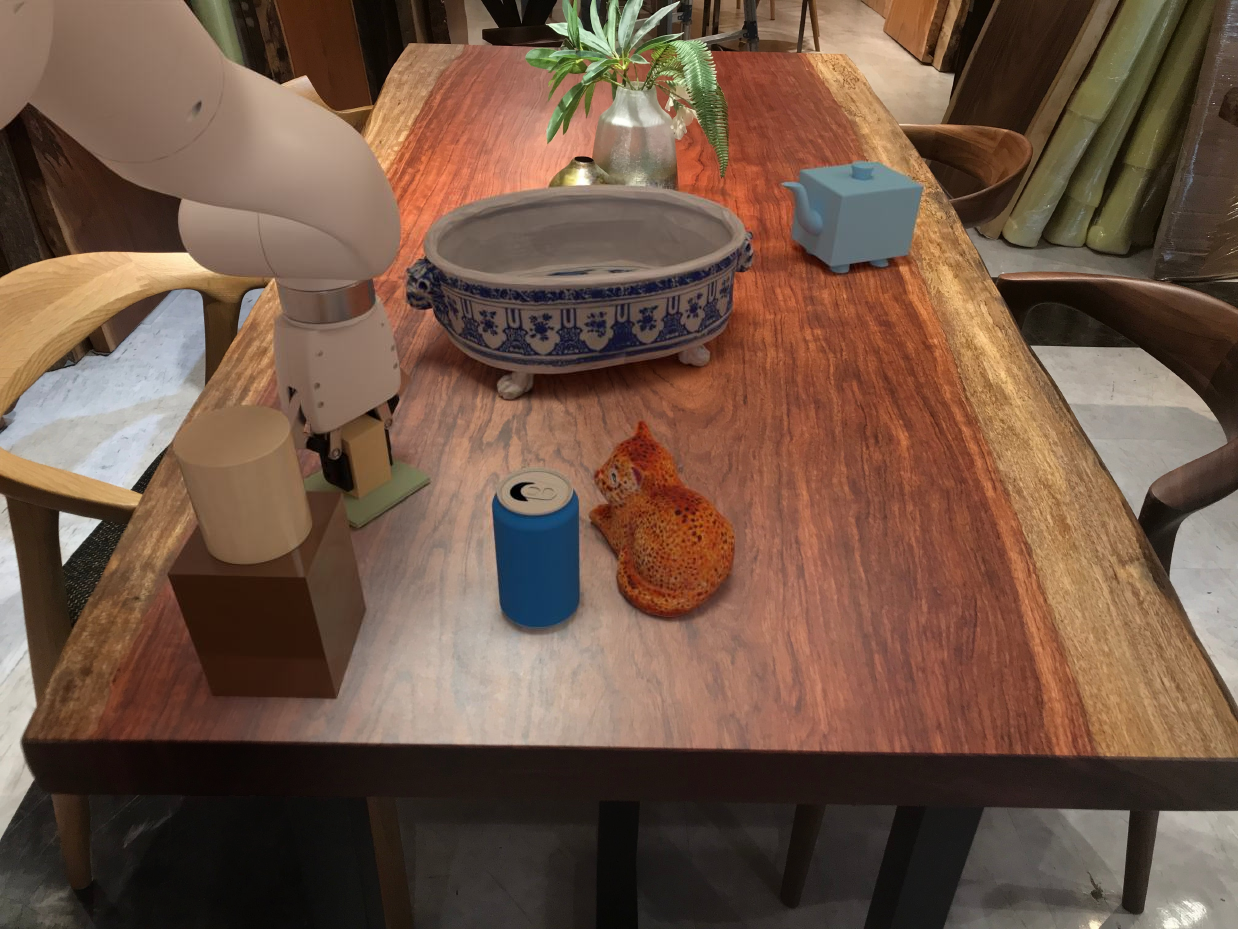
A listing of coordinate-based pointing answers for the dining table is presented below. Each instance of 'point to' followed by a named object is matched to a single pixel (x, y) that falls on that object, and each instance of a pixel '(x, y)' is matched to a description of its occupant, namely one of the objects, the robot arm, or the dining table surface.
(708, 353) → the decorative bowl
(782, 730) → the dining table surface
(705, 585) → the figurine
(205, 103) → the robot arm
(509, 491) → the beverage can
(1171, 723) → the dining table surface
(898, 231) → the teapot
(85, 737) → the dining table surface
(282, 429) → the cylinder on cube
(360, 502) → the block on board
